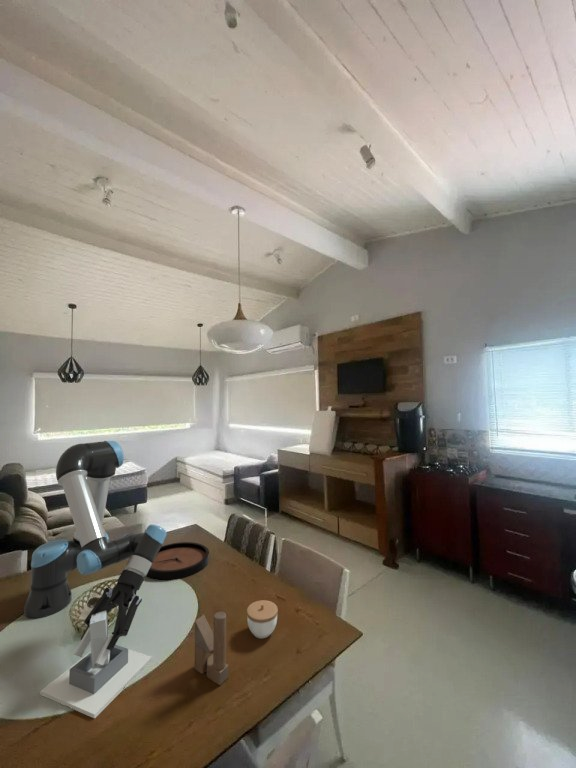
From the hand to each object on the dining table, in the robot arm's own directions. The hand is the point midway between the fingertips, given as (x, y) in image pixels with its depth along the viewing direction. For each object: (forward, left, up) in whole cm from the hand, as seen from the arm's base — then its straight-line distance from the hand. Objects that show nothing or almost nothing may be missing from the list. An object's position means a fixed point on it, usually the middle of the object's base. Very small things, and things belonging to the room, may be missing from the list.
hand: (88, 659), depth 94 cm
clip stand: (0, +4, -7) cm, 8 cm away
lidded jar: (+37, +37, -8) cm, 53 cm away
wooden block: (+30, +16, -8) cm, 35 cm away
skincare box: (+1, +4, -3) cm, 5 cm away
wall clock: (-23, +67, -8) cm, 71 cm away
